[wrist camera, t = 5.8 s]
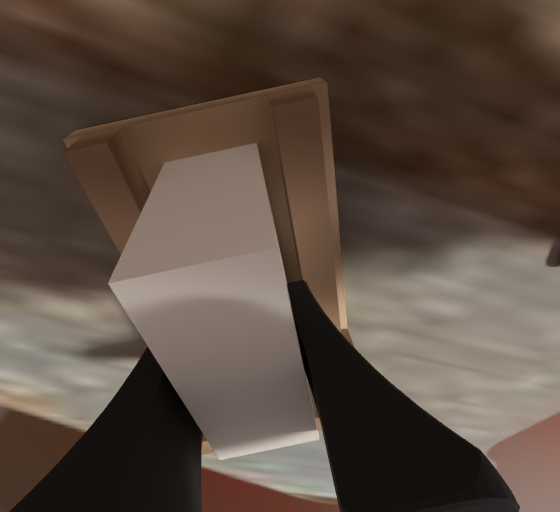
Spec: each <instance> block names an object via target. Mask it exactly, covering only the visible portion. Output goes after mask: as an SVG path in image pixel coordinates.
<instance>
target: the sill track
mask: <svg viewBox="0 0 560 512" xmlns="http://www.w3.org/2000/svg"><path fill="white" fill-rule="evenodd" d="M63 141H64V143H65V145H66V147H67V149H66V150H65V151H63V152H62V154H63V156H64V157H65V159H66V161H67V163H68V164H69V166H70V168H71V169H72V171H73V173H74V175H75V176H76V178H77V180H78V182H79V183H80V185H81V187H82V189H83V190H84V192H85V194H86V196H87V197H88V199H89V201H90V203H91V204H92V206H93V208H94V209H95V211H96V213H97V215H98V216H99V218H100V220H101V222H102V223H103V225H104V227H105V229H106V230H107V232H108V234H109V236H110V237H111V239H112V241H113V243H114V244H115V246H116V248H117V249H118V251H119V253H120V255H121V254H122V252H123V250H124V248H125V246H126V244H127V242H128V239H129V237H130V235H131V233H132V231H133V229H134V227H135V225H136V222H137V220H138V218H139V216H140V214H141V212H142V210H143V207H144V205H145V203H146V201H147V199H148V197H149V195H150V192H151V190H152V188H153V186H154V184H155V182H156V180H157V178H158V175H159V173H160V171H161V169H162V167H163V165H164V163H165V162H170V161H174V160H179V159H184V158H188V157H193V156H198V155H202V154H207V153H211V152H216V151H221V150H225V149H230V148H235V147H239V146H244V145H249V144H253V143H257V146H258V151H259V155H260V160H261V165H262V169H263V174H264V179H265V183H266V188H267V192H268V197H269V202H270V206H271V211H272V216H273V220H274V225H275V229H276V234H277V239H278V243H279V248H280V253H281V257H282V262H283V266H284V271H285V276H286V280H287V283H290V282H294V281H299V280H304V281H306V282H307V284H308V286H309V288H310V290H311V292H312V294H313V296H314V297H315V299H316V300H317V302H318V303H319V305H320V306H321V308H322V309H323V311H324V312H325V313H326V315H327V316H328V317H329V319H330V320H331V321H332V322H333V324H334V325H335V326H336V328H337V329H338V330H339V331H340V332H341V334H342V335H343V336H344V337H345V338H346V339H347V340H348V341H349V343H350V344H351V345H352V346H353V343H352V340H351V337H350V335H349V332H348V329H347V318H346V306H345V293H344V281H343V269H342V256H341V244H340V232H339V219H338V207H337V195H336V182H335V170H334V157H333V145H332V133H331V120H330V108H329V96H328V83H327V82H326V81H325V80H323V79H322V78H320V77H319V78H315V79H310V80H306V81H301V82H296V83H292V84H287V85H283V86H278V87H273V88H269V89H264V90H259V91H255V92H250V93H246V94H241V95H236V96H232V97H227V98H223V99H218V100H213V101H209V102H204V103H199V104H195V105H190V106H186V107H181V108H176V109H172V110H167V111H162V112H158V113H153V114H149V115H144V116H139V117H135V118H130V119H126V120H121V121H116V122H112V123H107V124H102V125H98V126H93V127H89V128H84V129H79V130H75V131H74V132H72V133H71V134H70V135H69V136H67V137H66V138H65V139H63ZM353 347H354V346H353ZM307 381H308V379H307ZM308 386H309V382H308ZM309 391H310V396H311V401H312V405H313V410H314V415H315V420H316V425H317V430H318V431H319V430H322V427H321V423H320V419H319V415H318V412H317V409H316V405H315V402H314V399H313V395H312V392H311V389H310V386H309ZM212 452H215V451H214V450H213V448H212V447H211V445H210V444H209V442H208V440H207V439H206V437H205V436H204V434H203V436H202V451H201V455H203V454H208V453H212Z"/></svg>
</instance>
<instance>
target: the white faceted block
mask: <svg viewBox="0 0 560 512" xmlns="http://www.w3.org/2000/svg"><path fill="white" fill-rule="evenodd" d="M108 284H109V286H110V288H111V289H112V291H113V292H114V294H115V295H116V297H117V299H118V300H119V302H120V303H121V305H122V306H123V308H124V310H125V311H126V313H127V314H128V316H129V317H130V319H131V321H132V322H133V324H134V325H135V327H136V329H137V330H138V332H139V333H140V335H141V336H142V338H143V340H144V341H145V343H146V344H147V346H148V347H149V349H150V351H151V352H152V354H153V355H154V357H155V358H156V360H157V362H158V363H159V365H160V366H161V368H162V370H163V371H164V373H165V374H166V376H167V377H168V379H169V381H170V382H171V384H172V385H173V387H174V388H175V390H176V392H177V393H178V395H179V396H180V398H181V399H182V401H183V403H184V404H185V406H186V407H187V409H188V410H189V412H190V414H191V415H192V417H193V418H194V420H195V422H196V423H197V425H198V426H199V428H200V429H201V431H202V433H203V434H204V436H205V437H206V439H207V440H208V442H209V444H210V445H211V447H212V448H213V450H214V451H215V453H216V455H217V456H218V458H219V459H220V460H223V459H228V458H232V457H237V456H242V455H247V454H252V453H257V452H261V451H266V450H271V449H276V448H281V447H286V446H290V445H295V444H300V443H305V442H310V441H315V440H319V434H318V430H317V425H316V420H315V415H314V410H313V405H312V401H311V396H310V391H309V386H308V381H307V376H306V372H305V368H304V363H303V359H302V354H301V350H300V345H299V340H298V336H297V331H296V327H295V322H294V318H293V313H292V308H291V303H290V298H289V293H288V288H287V280H286V276H285V271H284V266H283V262H282V257H281V253H280V248H279V243H278V239H277V234H276V229H275V225H274V220H273V216H272V211H271V206H270V202H269V197H268V192H267V188H266V183H265V179H264V174H263V169H262V165H261V160H260V155H259V151H258V146H257V143H253V144H249V145H244V146H239V147H235V148H230V149H225V150H221V151H216V152H211V153H207V154H202V155H198V156H193V157H188V158H184V159H179V160H174V161H170V162H165V163H164V165H163V167H162V169H161V171H160V173H159V175H158V178H157V180H156V182H155V184H154V186H153V188H152V190H151V192H150V195H149V197H148V199H147V201H146V203H145V205H144V207H143V210H142V212H141V214H140V216H139V218H138V220H137V222H136V225H135V227H134V229H133V231H132V233H131V235H130V237H129V239H128V242H127V244H126V246H125V248H124V250H123V252H122V254H121V257H120V259H119V261H118V263H117V265H116V267H115V269H114V271H113V274H112V276H111V278H110V280H109V282H108Z"/></svg>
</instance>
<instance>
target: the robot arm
mask: <svg viewBox="0 0 560 512" xmlns="http://www.w3.org/2000/svg"><path fill="white" fill-rule="evenodd" d="M287 288H288V293H289V298H290V303H291V308H292V313H293V318H294V322H295V327H296V331H297V336H298V340H299V345H300V350H301V354H302V359H303V363H304V368H305V372H306V376H307V379H308V382H309V386H310V389H311V392H312V395H313V399H314V402H315V405H316V409H317V412H318V415H319V419H320V423H321V427H322V431H323V435H324V440H325V445H326V449H327V454H328V458H329V463H330V468H331V472H332V477H333V482H334V486H335V491H336V495H337V500H338V505H339V509H340V512H519V509H520V506H519V505H518V503H517V501H516V499H515V497H514V495H513V493H512V492H511V490H510V488H509V487H508V486H507V484H506V483H505V481H504V480H503V478H502V477H501V476H500V474H499V473H498V472H497V470H496V469H495V467H494V466H493V465H492V464H491V462H490V461H489V460H488V459H487V457H486V456H485V455H484V454H483V453H482V451H481V450H479V449H478V448H477V447H475V446H474V445H472V444H471V443H469V442H468V441H466V440H465V439H463V438H462V437H460V436H459V435H458V434H456V433H455V432H453V431H452V430H450V429H449V428H448V427H446V426H445V425H443V424H442V423H441V422H439V421H438V420H437V419H435V418H434V417H433V416H431V415H430V414H429V413H427V412H426V411H425V410H423V409H422V408H421V407H419V406H418V405H417V404H416V403H414V402H413V401H412V400H411V399H410V398H408V397H407V396H406V395H405V394H404V393H402V392H401V391H400V390H399V389H397V388H396V387H395V386H394V385H393V384H391V383H390V382H389V381H388V380H387V379H386V378H385V377H384V376H382V375H381V374H380V373H379V372H378V371H377V370H376V369H375V368H374V367H373V366H372V365H371V364H370V363H369V362H368V361H367V360H366V359H365V358H364V357H363V356H362V355H361V354H360V353H359V352H358V351H357V350H356V349H355V348H354V347H353V346H352V345H351V344H350V343H349V341H348V340H347V339H346V338H345V337H344V336H343V335H342V334H341V332H340V331H339V330H338V329H337V328H336V326H335V325H334V324H333V322H332V321H331V320H330V319H329V317H328V316H327V315H326V313H325V312H324V311H323V309H322V308H321V306H320V305H319V303H318V302H317V300H316V299H315V297H314V296H313V294H312V292H311V290H310V288H309V286H308V284H307V282H306V281H304V280H299V281H294V282H290V283H287ZM202 436H203V433H202V431H201V429H200V428H199V426H198V425H197V423H196V422H195V420H194V418H193V417H192V415H191V414H190V412H189V410H188V409H187V407H186V406H185V404H184V403H183V401H182V399H181V398H180V396H179V395H178V393H177V392H176V390H175V388H174V387H173V385H172V384H171V382H170V381H169V379H168V377H167V376H166V374H165V373H164V371H163V370H162V368H161V366H160V365H159V363H158V362H157V360H156V358H155V357H154V355H153V354H152V352H151V351H150V349H149V347H147V349H146V350H145V352H144V353H143V355H142V357H141V358H140V360H139V361H138V363H137V364H136V366H135V368H134V369H133V371H132V372H131V373H130V375H129V376H128V378H127V379H126V381H125V382H124V384H123V385H122V386H121V388H120V389H119V391H118V392H117V394H116V395H115V396H114V398H113V399H112V400H111V402H110V403H109V404H108V406H107V407H106V408H105V409H104V411H103V412H102V413H101V414H100V416H99V417H98V418H97V419H96V421H95V422H94V423H93V424H92V426H91V427H90V428H89V429H88V430H87V431H86V433H85V434H84V435H83V436H82V437H81V438H80V439H79V440H78V442H77V443H76V444H75V445H74V446H73V447H72V448H71V449H70V450H69V452H68V453H67V454H66V455H65V456H64V457H63V458H62V459H61V460H60V462H59V463H58V464H57V465H56V466H55V467H54V468H53V469H52V470H51V471H50V472H49V473H48V474H47V475H46V476H45V477H44V478H43V479H42V480H41V481H40V482H39V483H38V484H37V485H36V486H35V487H34V488H33V489H32V490H31V491H30V492H29V493H28V494H27V495H26V496H25V497H24V498H23V499H22V500H21V501H20V502H19V503H18V504H17V505H16V506H15V507H14V508H13V509H12V510H11V511H10V512H202V511H201V451H202Z"/></svg>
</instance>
